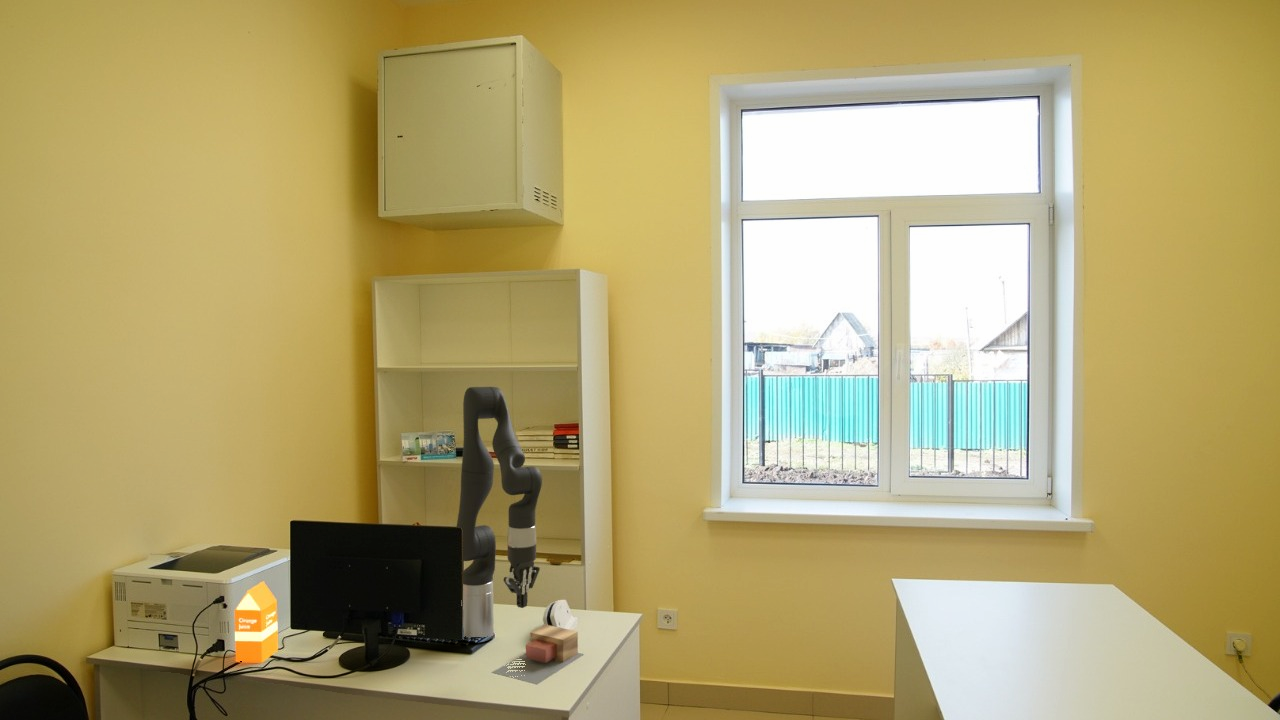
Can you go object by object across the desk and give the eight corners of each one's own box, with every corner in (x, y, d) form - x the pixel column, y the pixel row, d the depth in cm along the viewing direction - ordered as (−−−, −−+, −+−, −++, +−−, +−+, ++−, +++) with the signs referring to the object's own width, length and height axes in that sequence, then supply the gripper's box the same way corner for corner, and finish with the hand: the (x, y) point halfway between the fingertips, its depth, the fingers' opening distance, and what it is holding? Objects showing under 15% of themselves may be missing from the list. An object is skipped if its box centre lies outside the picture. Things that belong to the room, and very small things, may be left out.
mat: (491, 673, 217) (491, 672, 217) (541, 644, 236) (541, 644, 236) (537, 685, 209) (537, 684, 209) (584, 654, 228) (584, 654, 228)
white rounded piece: (565, 643, 237) (554, 610, 237) (551, 647, 238) (539, 615, 238) (578, 622, 254) (568, 592, 254) (565, 626, 255) (554, 596, 255)
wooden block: (530, 654, 228) (530, 632, 228) (545, 646, 234) (545, 624, 234) (563, 662, 223) (563, 639, 223) (577, 653, 229) (577, 631, 229)
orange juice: (235, 662, 225) (233, 590, 224) (252, 649, 234) (250, 580, 233) (262, 662, 225) (260, 591, 224) (278, 650, 233) (277, 581, 233)
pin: (546, 666, 220) (545, 649, 219) (525, 661, 223) (525, 645, 223) (577, 647, 233) (577, 631, 233) (558, 642, 236) (557, 627, 236)
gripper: (526, 534, 223) (526, 597, 223) (494, 546, 211) (494, 611, 212) (548, 538, 219) (548, 601, 220) (517, 550, 207) (517, 617, 208)
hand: (522, 606), depth 216 cm, fingers closed
